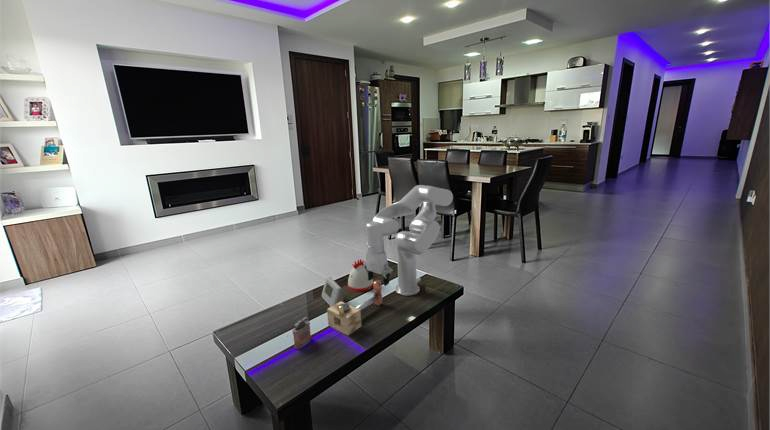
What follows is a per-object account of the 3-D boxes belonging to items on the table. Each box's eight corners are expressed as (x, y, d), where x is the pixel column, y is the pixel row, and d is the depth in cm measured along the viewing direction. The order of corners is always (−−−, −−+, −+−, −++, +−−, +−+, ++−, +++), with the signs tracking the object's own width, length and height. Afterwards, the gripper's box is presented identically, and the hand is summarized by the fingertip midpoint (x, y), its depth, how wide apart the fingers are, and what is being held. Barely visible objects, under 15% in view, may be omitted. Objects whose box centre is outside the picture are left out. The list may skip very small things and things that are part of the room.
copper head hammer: (377, 300, 156) (376, 279, 153) (383, 303, 154) (382, 281, 151) (350, 318, 142) (348, 294, 139) (356, 321, 140) (354, 297, 137)
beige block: (342, 317, 144) (340, 301, 142) (361, 326, 136) (360, 309, 134) (328, 325, 138) (327, 308, 136) (347, 335, 130) (346, 318, 128)
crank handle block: (349, 305, 138) (349, 294, 136) (347, 318, 128) (347, 307, 126) (338, 305, 138) (337, 295, 136) (335, 319, 127) (334, 308, 126)
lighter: (298, 350, 123) (295, 327, 120) (292, 347, 124) (289, 324, 122) (313, 338, 129) (311, 316, 127) (307, 336, 131) (305, 314, 129)
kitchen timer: (343, 284, 176) (341, 259, 172) (364, 277, 183) (363, 253, 180) (356, 294, 165) (355, 267, 161) (378, 286, 173) (377, 260, 169)
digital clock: (321, 296, 163) (319, 277, 161) (338, 293, 166) (337, 274, 164) (326, 312, 149) (324, 291, 146) (345, 308, 151) (344, 287, 149)
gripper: (356, 247, 149) (360, 280, 154) (385, 254, 139) (387, 290, 143) (367, 242, 155) (370, 274, 159) (395, 249, 144) (398, 283, 149)
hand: (378, 281), depth 151 cm, fingers open, 9 cm apart
